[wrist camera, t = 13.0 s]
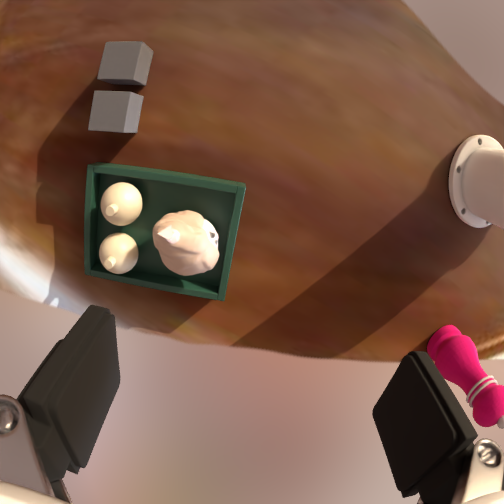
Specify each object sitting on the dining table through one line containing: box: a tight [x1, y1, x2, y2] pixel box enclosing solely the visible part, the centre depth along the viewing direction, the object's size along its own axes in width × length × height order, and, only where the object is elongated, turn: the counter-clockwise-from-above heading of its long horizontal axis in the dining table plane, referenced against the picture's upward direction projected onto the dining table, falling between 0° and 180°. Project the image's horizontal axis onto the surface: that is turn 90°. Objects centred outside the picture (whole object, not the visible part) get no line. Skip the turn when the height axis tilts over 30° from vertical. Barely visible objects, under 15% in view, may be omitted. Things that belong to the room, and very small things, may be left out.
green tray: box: [84, 162, 246, 301], centre depth 32 cm, size 17×13×3 cm
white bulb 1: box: [101, 182, 142, 226], centre depth 28 cm, size 4×4×5 cm
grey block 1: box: [97, 42, 153, 86], centre depth 24 cm, size 4×4×4 cm
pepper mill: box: [427, 325, 504, 429], centre depth 32 cm, size 7×7×20 cm
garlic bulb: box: [153, 210, 219, 276], centre depth 29 cm, size 7×6×8 cm
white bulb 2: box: [99, 233, 139, 274], centre depth 30 cm, size 4×4×5 cm
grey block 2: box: [88, 91, 143, 133], centre depth 26 cm, size 4×4×4 cm
